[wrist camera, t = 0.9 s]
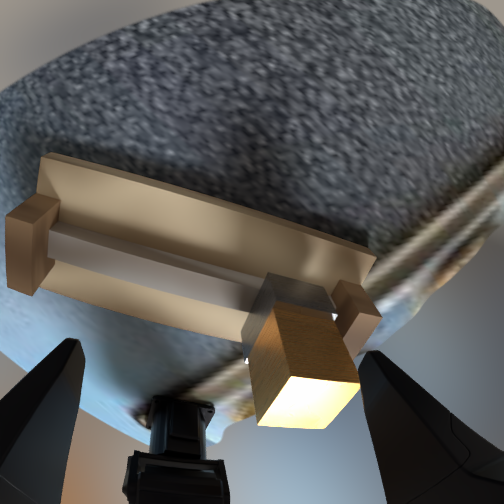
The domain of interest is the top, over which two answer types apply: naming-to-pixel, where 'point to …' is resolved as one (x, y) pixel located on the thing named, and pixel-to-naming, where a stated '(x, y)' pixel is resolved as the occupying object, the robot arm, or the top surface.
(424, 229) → the top surface
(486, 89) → the top surface
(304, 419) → the slider block
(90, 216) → the rail board
